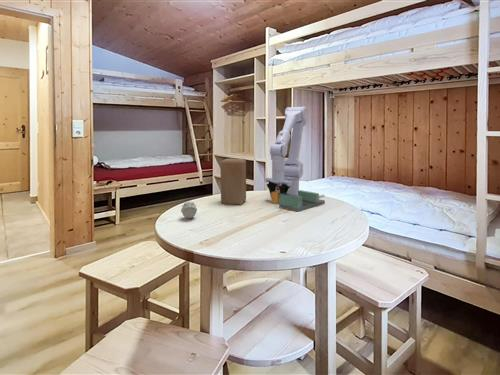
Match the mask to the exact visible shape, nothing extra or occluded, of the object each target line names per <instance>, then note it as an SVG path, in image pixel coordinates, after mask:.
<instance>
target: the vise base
mask: <svg viewBox="0 0 500 375" xmlns="http://www.w3.org/2000/svg"><path fill="white" fill-rule="evenodd" d="M325 203H326V200H324V199H321V198H319V202H317V203H315V202H310V201H305V200H302V196H297V195H292V194H287V193H282V194H280V200H279V206H278V207H279V208H281V209H285V210H289V211H293V212H301V211H302V212H303V211H305V210H309V209H311V208H315V207H318V206H321V205H325Z"/></svg>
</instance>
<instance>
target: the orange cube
mask: <svg viewBox="0 0 500 375" xmlns="http://www.w3.org/2000/svg"><path fill="white" fill-rule="evenodd" d="M279 200H280V190H276V191H274V192H271V195H270V203H272V204H276V205H277V204H279Z"/></svg>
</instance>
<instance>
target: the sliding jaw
mask: <svg viewBox="0 0 500 375" xmlns="http://www.w3.org/2000/svg"><path fill="white" fill-rule="evenodd" d="M298 196H302V200H305V201H310V202H315V203H317V202H319V199H321V198H324V197H325V194H323V193H322V194H320V193H319V192H314V191H307V190H302V189H299V191H298Z"/></svg>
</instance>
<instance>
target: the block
mask: <svg viewBox="0 0 500 375" xmlns="http://www.w3.org/2000/svg"><path fill="white" fill-rule="evenodd" d="M219 164H220V166H219V167H220V168H219V170H220V171H219V172H220V173H219V174H220V202H221V204H222V205H231V204H234V206H237V205H238V206H240V205H241V206H242V205H243V203H245V202H246V200H247V160H246V159H245V158H225V159H222V160H221V161H220V163H219Z"/></svg>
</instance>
